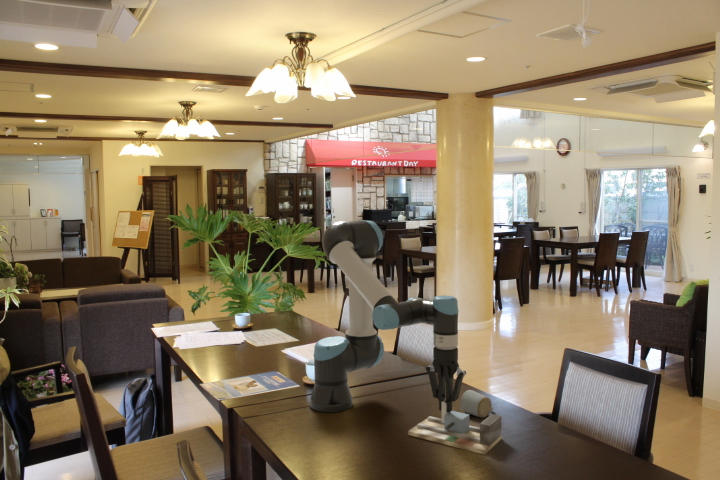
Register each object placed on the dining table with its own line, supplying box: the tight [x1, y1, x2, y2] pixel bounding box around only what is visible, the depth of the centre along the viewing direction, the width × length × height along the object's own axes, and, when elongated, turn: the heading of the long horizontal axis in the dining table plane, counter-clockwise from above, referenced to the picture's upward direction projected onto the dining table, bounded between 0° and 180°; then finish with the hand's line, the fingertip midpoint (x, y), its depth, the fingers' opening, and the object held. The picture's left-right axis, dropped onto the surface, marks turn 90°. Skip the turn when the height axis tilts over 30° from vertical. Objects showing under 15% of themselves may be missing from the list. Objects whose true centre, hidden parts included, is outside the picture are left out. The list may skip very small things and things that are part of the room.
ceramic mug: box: [460, 389, 494, 419], centre depth 194 cm, size 11×8×8 cm
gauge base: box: [407, 413, 503, 455], centre depth 176 cm, size 25×13×7 cm, turn 55°
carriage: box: [444, 410, 470, 434], centre depth 175 cm, size 6×9×5 cm, turn 145°
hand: (445, 421), depth 179 cm, fingers closed
